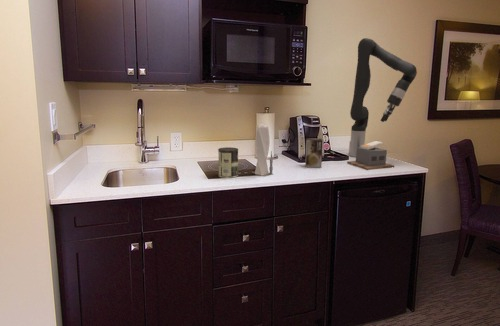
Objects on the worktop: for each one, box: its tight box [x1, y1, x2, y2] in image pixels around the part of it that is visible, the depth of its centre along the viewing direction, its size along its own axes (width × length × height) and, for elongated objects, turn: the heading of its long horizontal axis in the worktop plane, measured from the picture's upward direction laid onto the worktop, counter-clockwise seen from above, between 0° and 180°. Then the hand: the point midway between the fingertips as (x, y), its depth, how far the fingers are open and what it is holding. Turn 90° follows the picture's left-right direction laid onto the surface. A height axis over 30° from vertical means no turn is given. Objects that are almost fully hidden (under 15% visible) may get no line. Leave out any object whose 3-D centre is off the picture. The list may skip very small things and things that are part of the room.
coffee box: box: [304, 137, 323, 168], centre depth 212 cm, size 9×6×16 cm
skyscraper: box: [254, 121, 274, 178], centre depth 191 cm, size 8×8×28 cm
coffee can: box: [217, 146, 239, 179], centre depth 188 cm, size 10×10×14 cm
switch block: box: [355, 147, 388, 166], centre depth 217 cm, size 12×12×10 cm
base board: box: [346, 160, 396, 171], centre depth 218 cm, size 18×20×1 cm
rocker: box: [361, 140, 384, 150], centre depth 216 cm, size 6×11×2 cm, turn 112°
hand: (383, 121), depth 223 cm, fingers open, 8 cm apart
